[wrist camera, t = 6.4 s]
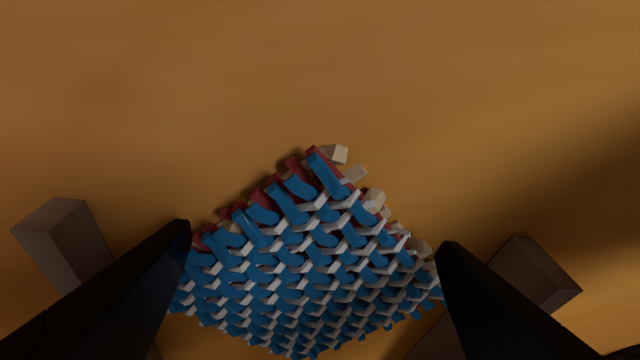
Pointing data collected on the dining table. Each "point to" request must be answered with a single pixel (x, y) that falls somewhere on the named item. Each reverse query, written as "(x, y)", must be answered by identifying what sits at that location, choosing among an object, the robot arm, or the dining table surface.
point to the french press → (626, 354)
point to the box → (90, 258)
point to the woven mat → (307, 262)
